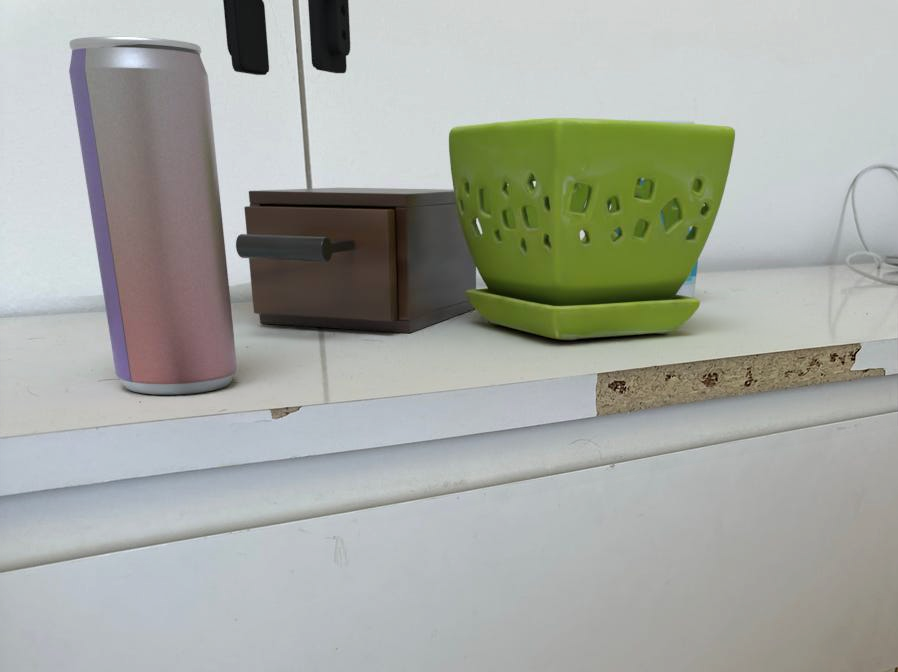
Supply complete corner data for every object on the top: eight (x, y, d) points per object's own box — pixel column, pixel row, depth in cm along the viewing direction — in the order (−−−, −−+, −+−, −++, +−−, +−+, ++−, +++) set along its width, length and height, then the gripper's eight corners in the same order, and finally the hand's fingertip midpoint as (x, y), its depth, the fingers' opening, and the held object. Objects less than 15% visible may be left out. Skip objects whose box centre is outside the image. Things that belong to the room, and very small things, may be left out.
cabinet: (409, 333, 66) (406, 193, 62) (259, 323, 69) (248, 190, 65) (476, 308, 77) (476, 189, 73) (345, 301, 81) (339, 187, 77)
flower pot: (721, 337, 65) (745, 123, 60) (546, 353, 59) (555, 116, 54) (599, 311, 76) (611, 129, 71) (442, 322, 70) (440, 123, 64)
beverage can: (92, 387, 49) (35, 40, 42) (182, 369, 54) (143, 53, 47) (175, 402, 46) (127, 32, 40) (262, 381, 51) (232, 47, 44)
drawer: (358, 332, 60) (353, 212, 57) (213, 323, 63) (201, 209, 60) (456, 300, 75) (456, 203, 72) (335, 294, 78) (330, 201, 75)
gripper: (442, -330, 50) (445, 75, 58) (166, -289, 55) (204, 79, 63) (383, -402, 44) (395, 63, 52) (76, -348, 49) (131, 69, 57)
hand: (289, 68), depth 58 cm, fingers open, 4 cm apart
